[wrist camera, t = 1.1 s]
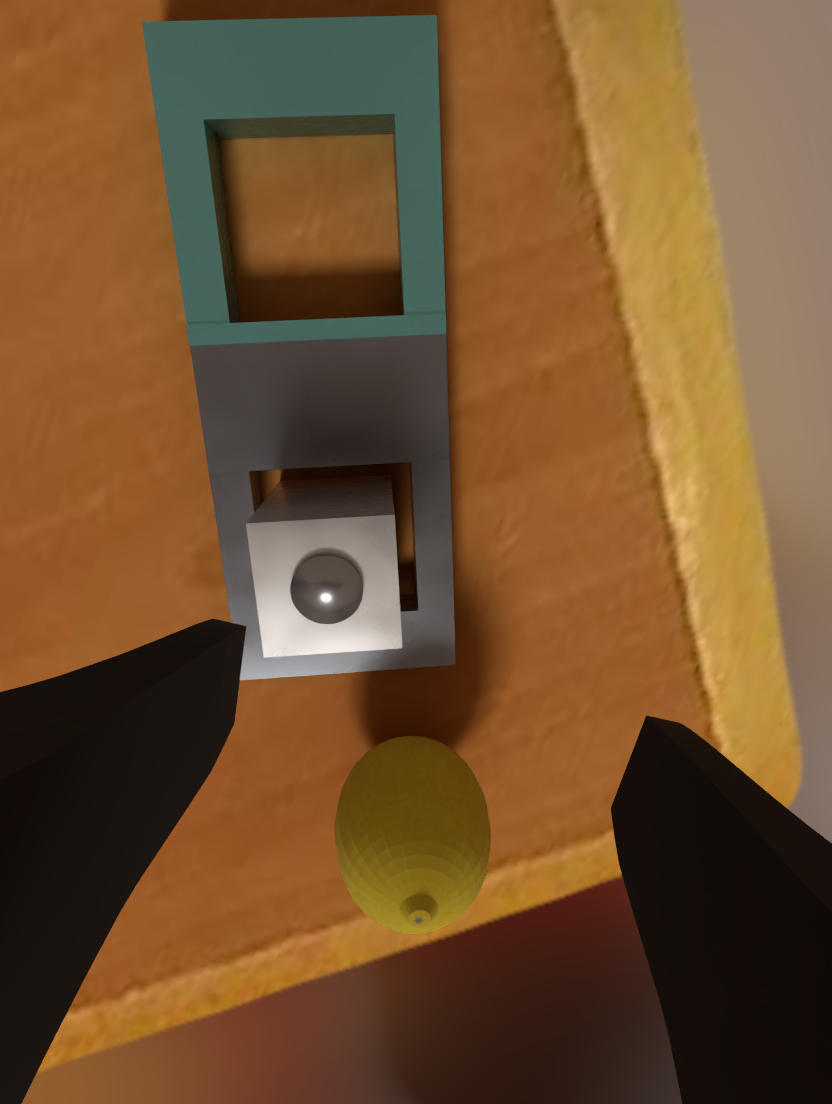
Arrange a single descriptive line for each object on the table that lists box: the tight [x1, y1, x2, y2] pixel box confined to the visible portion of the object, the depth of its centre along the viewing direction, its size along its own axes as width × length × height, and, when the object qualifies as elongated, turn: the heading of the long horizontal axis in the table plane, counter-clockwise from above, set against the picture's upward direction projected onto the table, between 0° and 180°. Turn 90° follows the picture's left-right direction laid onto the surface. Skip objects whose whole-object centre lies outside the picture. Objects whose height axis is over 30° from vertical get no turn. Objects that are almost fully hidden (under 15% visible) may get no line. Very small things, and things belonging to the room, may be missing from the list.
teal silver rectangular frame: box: [142, 15, 456, 680], centre depth 20 cm, size 8×20×2 cm, turn 3°
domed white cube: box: [246, 475, 402, 658], centre depth 20 cm, size 4×4×6 cm
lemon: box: [335, 736, 491, 934], centre depth 22 cm, size 6×6×8 cm
